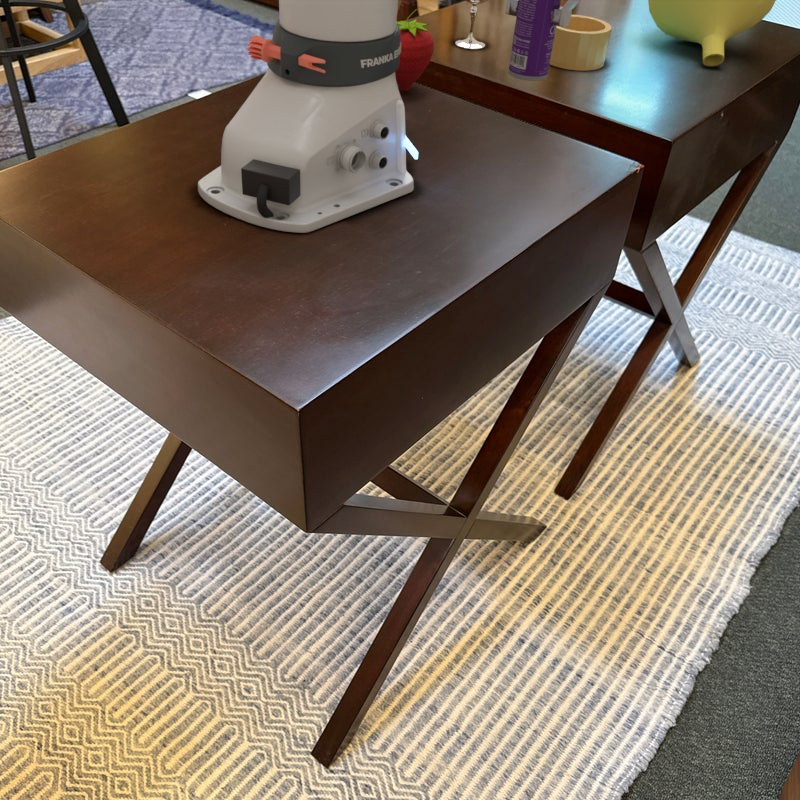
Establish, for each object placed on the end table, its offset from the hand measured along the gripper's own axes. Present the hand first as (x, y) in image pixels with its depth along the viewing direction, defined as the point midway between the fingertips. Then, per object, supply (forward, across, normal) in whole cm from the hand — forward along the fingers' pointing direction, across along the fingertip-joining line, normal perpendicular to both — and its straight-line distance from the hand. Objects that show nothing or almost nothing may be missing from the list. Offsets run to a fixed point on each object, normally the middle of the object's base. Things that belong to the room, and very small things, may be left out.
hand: (536, 20), depth 97 cm
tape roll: (+10, -4, +24) cm, 27 cm away
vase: (-4, +5, +49) cm, 49 cm away
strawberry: (+11, -15, -3) cm, 19 cm away
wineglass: (+10, -19, +20) cm, 29 cm away
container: (+6, 0, 0) cm, 6 cm away
